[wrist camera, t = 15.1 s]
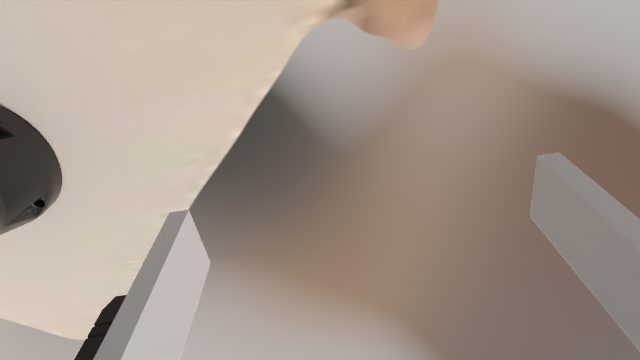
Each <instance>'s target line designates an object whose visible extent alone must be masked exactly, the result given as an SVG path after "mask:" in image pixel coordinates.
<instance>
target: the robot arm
mask: <svg viewBox="0 0 640 360" xmlns="http://www.w3.org/2000/svg"><path fill="white" fill-rule="evenodd" d="M61 186H62V173H61V168H60V165H59V162H58V159H57V157H56V155H55V153H54V152H53V150H52V148H51V147H50V145H49V144H48V143H47V141H46V140H45V139H44V138H43V137H42V136H41V134H40V133H39V132H38V131H36V130H35V129H34V128H33V127H32V126H31V125H30V124H28V123H27V122H26V121H24V120H23V119H21V118H20V117H18V116H17V115H15V114H13V113H11V112H10V111H8V110H6V109H3V108H1V107H0V235H1V234H3V233H6V232H8V231H10V230H13V229H15V228H17V227H20V226H22V225H24V224H26V223H29V222H31V221H33V220H35V219H36V218H38V217H39V216H40V215H42V214H43V213H44V212H45V211H46V210H47V209H48V208H49V207H50V206H51V205H52V204H53V203H54V202H55V200H56V199H57V197H58V195H59V193H60V190H61ZM530 217H531V219H532V220H533V221H534V222H535V224H536V225H537V226H538V227H539V228H540V230H541V231H542V232H543V233H544V234H545V236H546V237H547V238H548V239H549V241H550V242H551V243H552V245H553V246H554V247H555V248H556V249H557V251H558V252H559V253H560V254H561V255H562V257H563V258H564V259H565V260H566V262H567V263H568V264H569V265H570V267H571V268H572V269H573V270H574V272H575V273H576V274H577V275H578V276H579V278H580V279H581V280H582V281H583V283H584V284H585V285H586V286H587V288H588V289H589V290H590V291H591V292H592V294H593V295H594V296H595V297H596V299H597V300H598V301H599V302H600V303H601V305H602V306H603V307H604V308H605V310H606V311H607V312H608V313H609V315H610V316H611V317H612V318H613V320H614V321H615V322H616V323H617V324H618V326H619V327H620V328H621V329H622V331H623V332H624V333H625V334H626V336H627V337H628V338H629V339H630V340H631V342H632V343H633V344H634V345H635V347H636V348H637V349H638V350H639V352H640V219H639V218H637V217H636V216H635V215H634V214H632V213H631V212H630V211H629V210H628V209H627V208H625V207H624V206H623V205H622V204H621V203H619V202H618V201H617V200H616V199H614V198H613V197H612V196H611V195H610V194H609V193H607V192H606V191H605V190H604V189H602V188H601V187H600V186H599V185H597V184H596V183H595V182H594V181H593V180H592V179H590V178H589V177H588V176H587V175H586V174H584V173H583V172H582V171H581V170H580V169H578V168H577V167H576V166H575V165H574V164H572V163H571V162H570V161H569V160H568V159H566V158H565V157H564V156H563V155H561V154H560V153H559V152H558V153H551V154H546V155H539V156H537V162H536V170H535V179H534V186H533V195H532V203H531V210H530ZM209 266H210V261H209V258H208V256H207V253H206V251H205V248H204V246H203V243H202V241H201V239H200V236H199V234H198V231H197V229H196V227H195V224H194V221H193V219H192V217H191V214H190V212H189V210H185V211H178V212H172V213H169V215H168V217H167V219H166V221H165V223H164V224H163V226H162V228H161V230H160V232H159V234H158V236H157V238H156V240H155V242H154V244H153V246H152V248H151V249H150V251H149V253H148V255H147V257H146V259H145V261H144V263H143V265H142V267H141V269H140V271H139V273H138V274H137V276H136V278H135V280H134V282H133V284H132V286H131V288H130V290H129V292H128V294H127V295H123V296H116V297H115V298H114V299H113V300H112V301H111V302H110V303H109V304H108V305H107V306H106V307H105V308H104V309H103V310H102V312H101V313H100V315H99V317H98V319H97V321H96V322H95V324H94V325H95V326H94V327H93V328H92V329H91V331H90V333H89V335H88V339H86V340H85V342H84V344H83V345H82V347H81V349H80V351H79V352H78V354H77V356H76V358H75V359H74V360H181V357H182V354H183V351H184V347H185V344H186V341H187V337H188V334H189V331H190V328H191V325H192V321H193V318H194V315H195V311H196V309H197V305H198V302H199V299H200V295H201V292H202V289H203V286H204V283H205V279H206V276H207V273H208V269H209Z"/></svg>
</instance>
